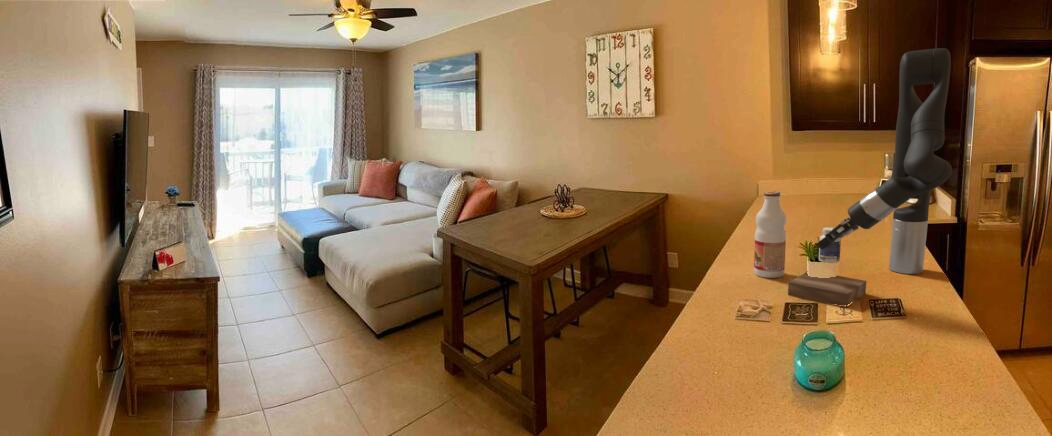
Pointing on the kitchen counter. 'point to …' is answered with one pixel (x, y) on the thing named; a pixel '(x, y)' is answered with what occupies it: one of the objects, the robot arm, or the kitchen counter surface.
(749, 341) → the kitchen counter surface
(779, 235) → the fruit juice
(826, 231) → the pill bottle
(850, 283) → the walnut base
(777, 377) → the kitchen counter surface
